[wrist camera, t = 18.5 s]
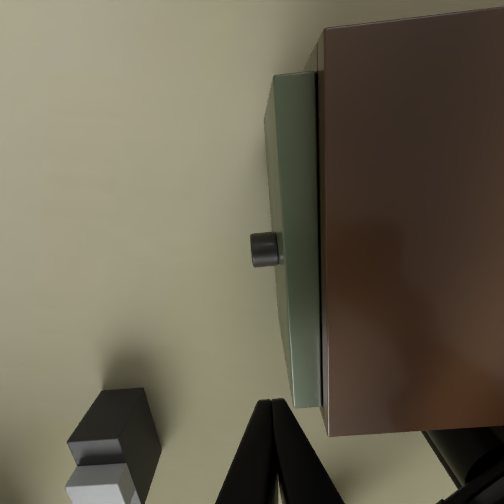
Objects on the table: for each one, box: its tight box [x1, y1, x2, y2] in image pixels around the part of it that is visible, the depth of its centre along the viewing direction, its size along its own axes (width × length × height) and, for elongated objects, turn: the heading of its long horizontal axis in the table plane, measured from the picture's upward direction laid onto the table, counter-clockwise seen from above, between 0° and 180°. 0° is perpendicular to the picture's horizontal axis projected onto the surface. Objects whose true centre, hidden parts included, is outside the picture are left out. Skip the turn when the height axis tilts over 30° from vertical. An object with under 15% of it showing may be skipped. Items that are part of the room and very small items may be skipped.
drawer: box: [250, 71, 322, 408], centre depth 12 cm, size 19×12×7 cm, turn 96°
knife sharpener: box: [65, 388, 161, 504], centre depth 19 cm, size 7×3×5 cm, turn 6°
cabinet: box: [303, 7, 504, 437], centre depth 12 cm, size 18×13×8 cm
